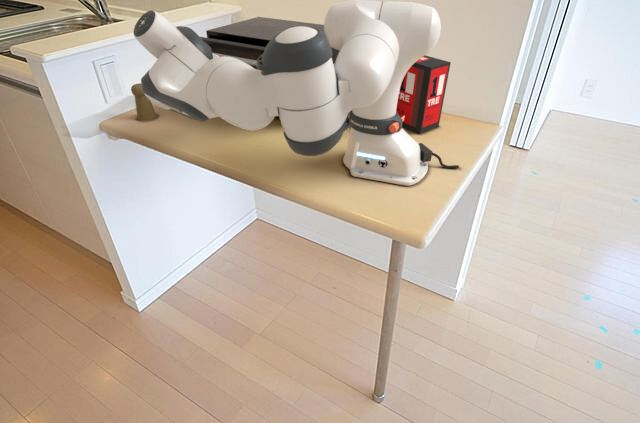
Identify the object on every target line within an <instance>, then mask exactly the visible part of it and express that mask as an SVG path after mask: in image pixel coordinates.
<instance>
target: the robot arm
mask: <svg viewBox="0 0 640 423" xmlns="http://www.w3.org/2000/svg"><path fill="white" fill-rule="evenodd" d="M323 25H324V32H322V31H321V30H319V29H317V28H314V27H304V26H298V27H292V28H289V29H287V30H285V31H282V32H280V33H278V34H277V35H275V36H274V37H273V38H272V39H271V41H270V42H269V43H268V45H267V46H266V48H265V50H264V53H263V54H262V55H261V56H260V57H259V58H258V60H257V68H258V69H255V68H253V67H252V66H250V65H248V64H247V63H245V62H243V61H241V60H239V59H236V58H233V57H227V56H223V57H219V56H218V55H216V54H213V53H212V50H211V47H210V46H209V45H208V44H206V43H205V42H204V41H203V40H202V39H201V38H200V37H201V36H199V34H198V33H197V32H195V30H193V29H192V28H191V27H188V26H182V25H175V24H174V23H173V22H171V21H170V20H169V19H168V18H166V17H165V16H164V15H162V14H161V13H159V12H158V11H156V10H153V9H151V10H148V11H146V12H145V13H142V15H141V16H140V17H139V19H138V20H137V21H136V22H135V24H134V28H133V36H134V38H135V39H136V41H138V43H139V44H140V45H141V46H142V47H143V48H144V49H145V50H146V51H148V53H150V55H152V56H153V57H155V59H156V61H155V62H154V63H153V64H152V66H151V68H150V69H149V70H147V72H145V74H144V75H143V76H142V77H141V79H140V83H141V85H142V90H143V93H144V94H145V95H146V97H147V98H148V99H149V100H150V101H151V102H152V104H154V105H155V106H157V107H159V108H161V109H164V110H168V111H169V112H171V111H172V112H175V113H177V114H179V115H181V116H184V117H186V118H189V119H192V120H194V121H198V122H207V121H209V120H210V119H215V118H221V119H222V120H223V121H225V122H226V123H228V124H230V125H232V126H234V127H236V128H239V129H241V130H245V131H258V130H261V129H264V128H266V127H267V126H269V125H270V124H271V123H272V121H274V120H275V119H274V117H275V116H279V118H280V120H279V121H280V124H281V127H282V129H283V136H284V139H285V141H286V143H287V145H288V147H289V148H290V149H291V151H292V152H293V153H295V154H297V155H300V156H304V157H318V156H322V155H324V154H327V153H329V152H330V151H332V149H333V148H334V147H335V146H336V145H337V144H338V143H339V142H340V141H341V140H342V137H343V134H344V133H345V132H346V130H348V129H349V136H348V141H347V146H346V150H345V153H344V156H343V158H342V161H343V165H345V167H346V168H347V169H349V172H350V175H351V176H352V177H356V178H360V179H366V180H372V181H378V182H384V183H388V184H393V185H394V184H395V185H400V186H407V187H410V186H414V185H416V184H417V183H419V182H420V181H422V180H423V179H424V177H425V176H426V175H427V172H428V170H429V163H428V162H431V161H432V158H433V157H432V156H434V157H435V158H436V159H437V160H438V162H439V165H440V166H441V167H442V168H446V169H459V167H460V165H458V164H456V165H447V164H444V162H443V161H442V160H443V159H442V158H441V157H440V155H438V154H437V153H435V152H433V150H431V149H430V148H429V147H428V146H427V145H425V144H424V143H422V142H420V143H419V142H417V140H415V139H414V138H413V137H412V136H410V134H409V133H408V132H407V131H406V130H405V128H404V127H402V122H403V121H404V117H405V116H403V117H402V118H401V117H400V116H399V115H398V113H397V111H396V109H397V102H398V96H399V91H400V87H401V83H402V81H403V78H404V76H405V75H406V73H407V71H408V70H409V69H410V67H411V66H412V65H413V64H414V63H415V62H416V61H417V60H419V59H420V58H422V57H423V56H425V55H426V56H427V55H428V54H429V53H430V52H432V50H433V49H434V48H435V47H436V45H437V43H438V42H439V39H440V37H441V32H442V21H441V18H440V15H439V13H438V11H437V9H436V8H435V7H433V6H430V5H427V4H423V3H419V2H415V1H399V0H398V1H395V0H344V1H339V2H335V3H334V2H333V4H332V5H331V6H330V7H329V9H328V10H327V12H326V14H325V17H324V21H323ZM331 47H332V48H334V49H336V50H339V51H340V52H339V54H338V56H337V59H336V61H335V64H333V61H332V58H331V57H332V54H333V53H332V50H331ZM348 115H349V116H348Z"/></svg>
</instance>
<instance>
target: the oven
mask: <svg viewBox="0 0 640 423" xmlns="http://www.w3.org/2000/svg"><path fill="white" fill-rule="evenodd" d="M298 26H304V27H314V28H317V29H319V30H321V31H322V32H324V24H320V23H312V22H305V21H297V20H288V19H281V18H273V17H264V16H256V17H251V18H249V19H245V20H241V21H237V22H233V23H230V24H225V25H222V26H218V27H214V28H211V29H207V30H205V32H206V38H211V39H218V40H224V41H230V42H236V43H242V44H249V45H255V46H261V47H266V46H267V45H268V43H269V42H270V41H271V39H272V38H273V37H274V36H275V35H277V34H278V33H280V32H282V31H285V30H287V29H289V28H292V27H298ZM331 50H332V53H333V54H332V57H331V58H332V61H333V64H335V61H336V59H337V56H338V54H339V52H340V51H339V50H336V49H334V48H332V47H331Z"/></svg>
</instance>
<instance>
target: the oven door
mask: <svg viewBox="0 0 640 423" xmlns="http://www.w3.org/2000/svg"><path fill="white" fill-rule="evenodd" d="M199 37H200V38H201V39H202V40H203V41H204V42H205V43H206V44H208V45H209V46H210V47H211V50H212V53H213V54H216V55H218V56H219V57H223V56H227V57H233V58H236V59H239V60H241V61H243V62H245V63H247V64H248V65H250V66H252V67H253V68H255V69H258V68H257V60H258V58H259V57H260V56H261V55H262V54H263V53H264V50H265V48H266V47H261V46H255V45H249V44H242V43H236V42H230V41H224V40H218V39H211V38H207V37H205V36H199ZM273 120H278V121H280V118H279V116H275V117H274V119H273Z"/></svg>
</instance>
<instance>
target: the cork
mask: <svg viewBox="0 0 640 423" xmlns="http://www.w3.org/2000/svg"><path fill="white" fill-rule="evenodd" d="M130 91H131V94H132V96H134V102H135V110H136V116H137V117H136V118H137V120H138V121H140V122H149V121H152V120H155V119H157V117H158V115H157V113H156V110H155V108H154V105H153V102H151V101H150V100H149V99H148V98H147V97H146V95H145V94H144V93H143V90H142V85H141V82H139V83H135V84H132V86H131V88H130Z"/></svg>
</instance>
